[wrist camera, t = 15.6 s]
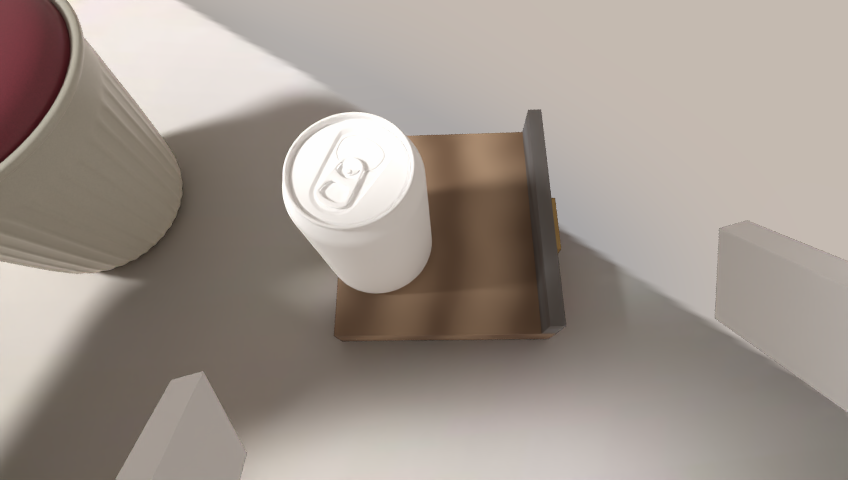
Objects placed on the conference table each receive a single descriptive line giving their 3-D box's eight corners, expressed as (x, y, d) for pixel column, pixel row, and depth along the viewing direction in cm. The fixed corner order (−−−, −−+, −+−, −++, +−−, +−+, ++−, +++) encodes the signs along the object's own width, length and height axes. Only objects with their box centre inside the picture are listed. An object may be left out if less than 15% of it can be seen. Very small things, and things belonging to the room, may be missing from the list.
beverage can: (449, 223, 35) (450, 135, 24) (401, 314, 33) (377, 264, 22) (361, 184, 37) (324, 85, 26) (309, 267, 35) (243, 198, 23)
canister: (-24, 265, 39) (-504, 116, 19) (98, 103, 45) (-176, -138, 25) (147, 339, 36) (-220, 250, 16) (254, 154, 42) (80, -76, 22)
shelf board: (341, 340, 35) (323, 328, 30) (353, 153, 41) (339, 116, 36) (553, 338, 34) (572, 326, 29) (533, 147, 40) (546, 109, 35)
